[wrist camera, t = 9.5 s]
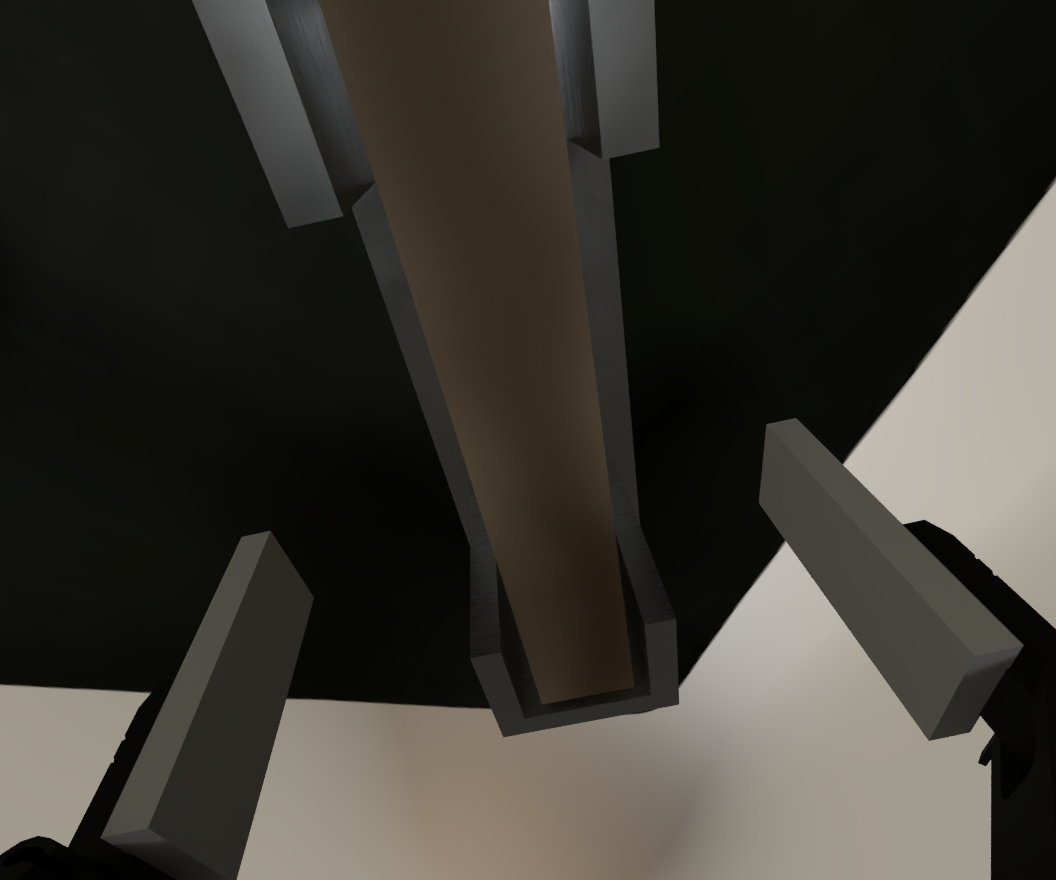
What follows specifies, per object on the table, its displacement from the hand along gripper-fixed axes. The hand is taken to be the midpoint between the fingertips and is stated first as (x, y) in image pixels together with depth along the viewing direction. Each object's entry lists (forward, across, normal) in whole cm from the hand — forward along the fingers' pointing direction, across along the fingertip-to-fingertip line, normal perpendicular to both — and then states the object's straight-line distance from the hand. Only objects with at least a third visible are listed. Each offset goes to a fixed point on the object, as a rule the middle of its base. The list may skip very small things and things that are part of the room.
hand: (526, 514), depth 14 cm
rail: (+7, +1, 0) cm, 7 cm away
